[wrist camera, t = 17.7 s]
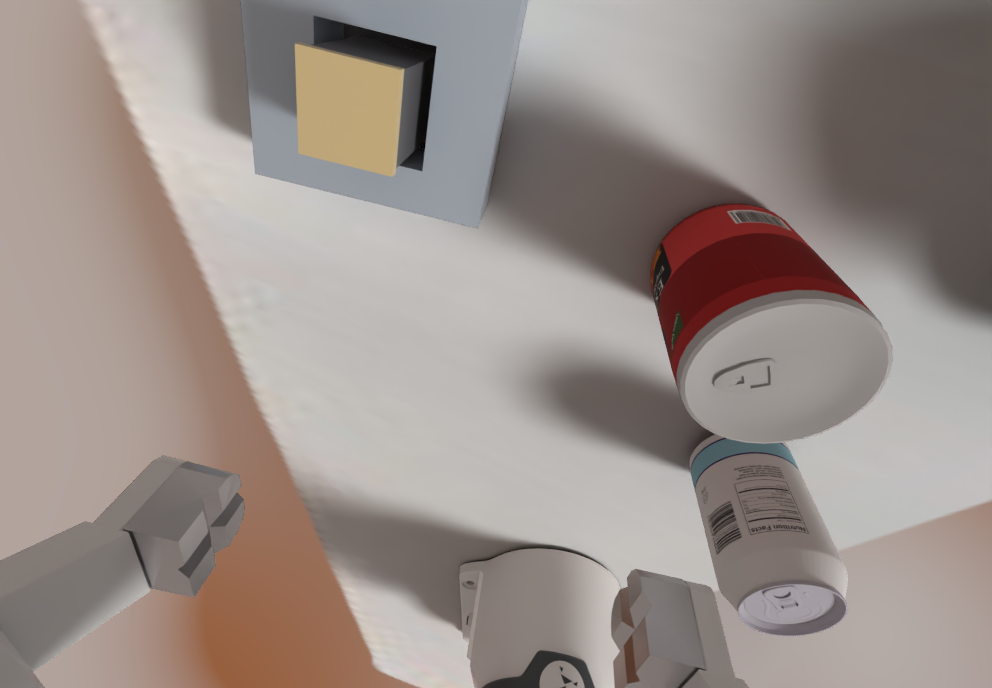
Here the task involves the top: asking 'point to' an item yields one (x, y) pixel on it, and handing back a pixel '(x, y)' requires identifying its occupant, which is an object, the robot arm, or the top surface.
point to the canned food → (763, 328)
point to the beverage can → (767, 538)
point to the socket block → (453, 106)
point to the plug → (362, 102)
